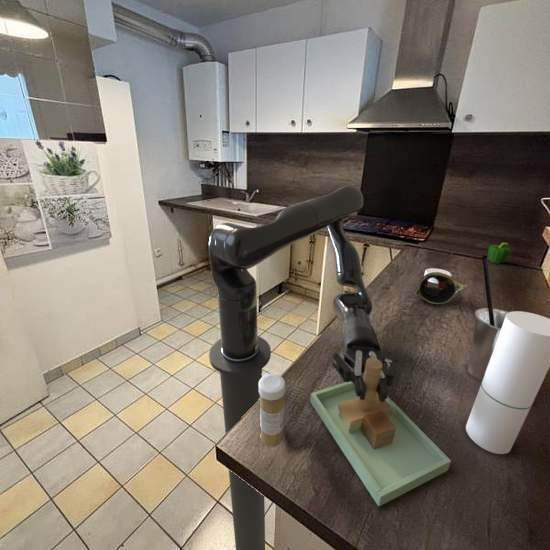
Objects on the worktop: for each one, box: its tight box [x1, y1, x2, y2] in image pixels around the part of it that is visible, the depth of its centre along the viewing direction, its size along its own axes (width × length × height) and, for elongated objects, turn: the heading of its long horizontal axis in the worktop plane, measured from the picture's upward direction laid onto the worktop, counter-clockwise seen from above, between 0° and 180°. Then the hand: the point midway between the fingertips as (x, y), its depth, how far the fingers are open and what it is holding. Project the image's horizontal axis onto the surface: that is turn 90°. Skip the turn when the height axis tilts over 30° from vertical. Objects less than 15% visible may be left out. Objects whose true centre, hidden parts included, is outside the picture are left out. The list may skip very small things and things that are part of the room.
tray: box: [309, 381, 452, 507], centre depth 55 cm, size 22×15×2 cm
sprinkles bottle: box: [259, 373, 286, 448], centre depth 52 cm, size 5×5×14 cm
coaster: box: [423, 267, 453, 285], centre depth 121 cm, size 10×10×4 cm
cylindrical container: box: [465, 310, 550, 455], centre depth 50 cm, size 7×7×25 cm
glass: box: [466, 255, 510, 382], centre depth 64 cm, size 11×11×30 cm
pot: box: [412, 272, 470, 305], centre depth 106 cm, size 17×11×18 cm
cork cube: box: [361, 410, 396, 449], centre depth 53 cm, size 4×4×4 cm
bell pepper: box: [487, 242, 511, 265], centre depth 140 cm, size 8×8×10 cm
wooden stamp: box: [338, 358, 393, 433], centre depth 55 cm, size 4×9×14 cm, turn 108°
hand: (372, 396), depth 51 cm, fingers closed on wooden stamp, 3 cm apart
